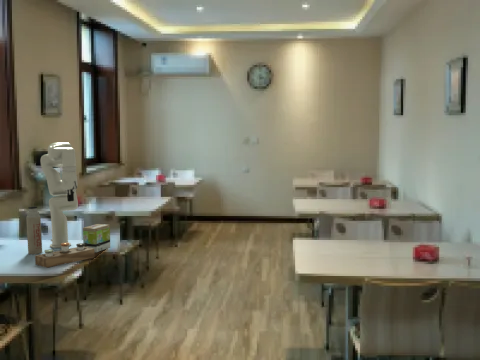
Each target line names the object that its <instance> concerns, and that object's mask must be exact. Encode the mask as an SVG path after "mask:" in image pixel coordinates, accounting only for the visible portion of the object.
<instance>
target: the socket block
mask: <svg viewBox="0 0 480 360" xmlns="http://www.w3.org/2000/svg"><path fill="white" fill-rule="evenodd" d="M95 253H96V252H94V249H93V248H89V247H84V250H77V246H76V247H75V246H74V247H69V253H64V254H63V253H62V250H56V251H53V256H50V257H45V253H40V254H34V258H35V259H34V261H35V265H36V266H39V267H43V268H51V267H57V266H61V265H66V264H70V263H76V262H80V261H83V260H88V259H94V258H95Z"/></svg>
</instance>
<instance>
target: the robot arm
mask: <svg viewBox="0 0 480 360" xmlns="http://www.w3.org/2000/svg"><path fill="white" fill-rule="evenodd" d="M40 167H41V169H42V171H43V173H44V175H45V178H46V182H47V188H48V189H47V190H48V192H49V195H50V196H52V197H51V198H50V199H49V200H48V207H49V211H50V220H51V221H50V222H51V223H50V224H51V239H50V242H51V243H50V244H49V247H50V248H53V249H57V248H58V249H59V248H60V249H61V243H69V247H70V246H72V243H71V242H69V235H68V234H69V233H68V232H69V231H68V218H67V216H66V214H65V213H63V212H66V211H67V212H68V211H74V210H77V209H78V207H79V201H78V196H77V195H78V194H77V189H78V187H79V186H78V175H77V160H76V149H75V148H73V146H72V144H71V143H69V142H53V143H52V142H51V143H50V144H49V145H48V147H47V154H43V155H41V157H40ZM55 167H56V168H57V167H58V168H59V167H61V170H62V172H61V174H60V172H58V170H56V169H55Z"/></svg>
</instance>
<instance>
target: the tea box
mask: <svg viewBox="0 0 480 360" xmlns="http://www.w3.org/2000/svg"><path fill="white" fill-rule="evenodd" d="M82 237H83V238H82V243H84V244H85V246H84V247H89V248H93V249H94V253H98V252H100V251H101V252H102V251H104V250H106V249H110V248H111V224H101V223H96V224H93V225H92V224H91V225H89V226H88V225H87V226H85V227H82Z"/></svg>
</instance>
